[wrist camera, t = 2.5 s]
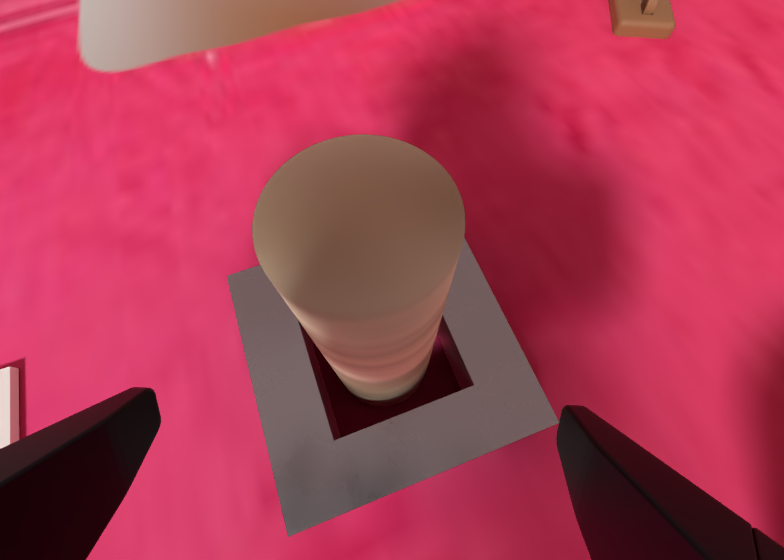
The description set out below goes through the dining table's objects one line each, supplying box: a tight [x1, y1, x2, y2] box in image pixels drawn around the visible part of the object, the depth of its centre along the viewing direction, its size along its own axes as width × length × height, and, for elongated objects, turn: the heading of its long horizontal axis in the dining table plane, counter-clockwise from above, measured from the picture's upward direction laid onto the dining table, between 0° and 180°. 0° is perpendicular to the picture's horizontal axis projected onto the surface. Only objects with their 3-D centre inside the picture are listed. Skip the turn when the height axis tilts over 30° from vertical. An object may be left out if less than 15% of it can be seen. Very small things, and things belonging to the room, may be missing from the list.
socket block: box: [227, 237, 559, 537], centre depth 19 cm, size 11×11×3 cm
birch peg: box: [252, 134, 465, 406], centre depth 15 cm, size 4×4×13 cm
